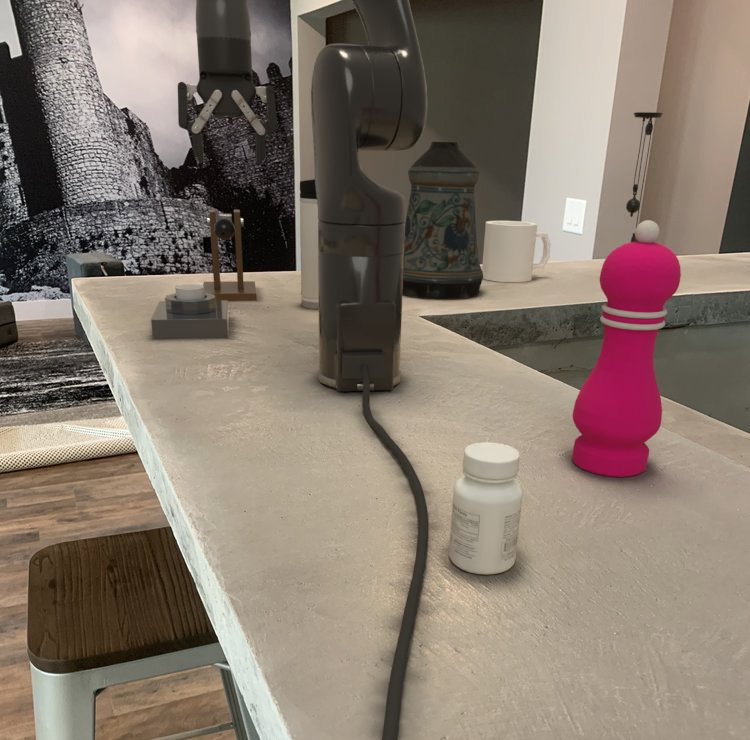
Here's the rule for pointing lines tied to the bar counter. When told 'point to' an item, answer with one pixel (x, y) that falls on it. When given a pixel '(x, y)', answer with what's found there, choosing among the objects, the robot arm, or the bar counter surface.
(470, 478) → the pill bottle
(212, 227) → the pendulum stand
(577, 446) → the pepper mill
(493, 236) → the mug
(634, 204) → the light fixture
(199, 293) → the flush button
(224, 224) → the flush lever
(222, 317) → the button base
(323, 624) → the bar counter surface
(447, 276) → the beer stein
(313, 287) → the travel mug
